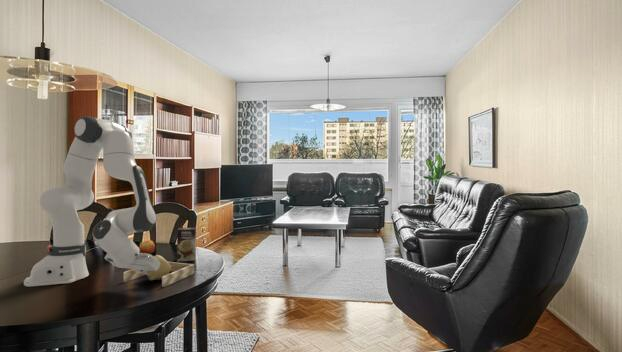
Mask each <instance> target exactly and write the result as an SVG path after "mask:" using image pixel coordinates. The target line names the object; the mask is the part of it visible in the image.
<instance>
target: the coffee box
mask: <svg viewBox="0 0 622 352" xmlns="http://www.w3.org/2000/svg"><path fill="white" fill-rule="evenodd" d="M176 233H177V235H176V236H177V237H176V239H177V240H176V241H177V242H176V262H192V261H196V260H197V227H177V232H176Z"/></svg>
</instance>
